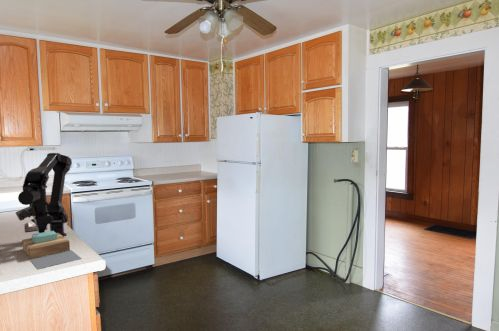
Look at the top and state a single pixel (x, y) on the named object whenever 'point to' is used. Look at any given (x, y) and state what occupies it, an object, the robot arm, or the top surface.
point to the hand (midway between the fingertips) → (41, 235)
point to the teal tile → (44, 237)
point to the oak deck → (45, 247)
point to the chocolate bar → (31, 227)
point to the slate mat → (54, 259)
